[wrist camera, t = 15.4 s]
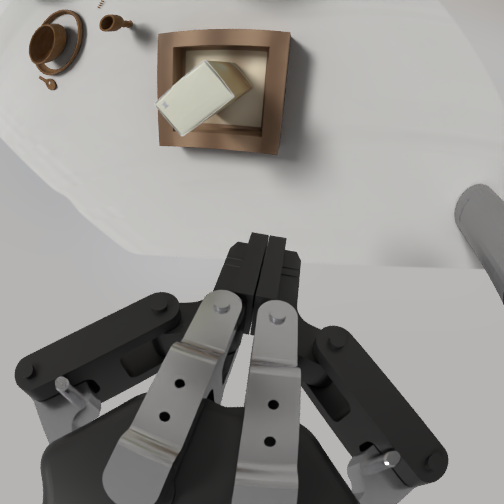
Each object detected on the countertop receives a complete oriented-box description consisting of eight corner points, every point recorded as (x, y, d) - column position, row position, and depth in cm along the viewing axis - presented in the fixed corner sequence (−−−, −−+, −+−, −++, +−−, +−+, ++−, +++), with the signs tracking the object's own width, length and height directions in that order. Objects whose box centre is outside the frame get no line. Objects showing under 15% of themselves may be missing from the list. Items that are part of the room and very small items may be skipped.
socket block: (290, 36, 25) (290, 32, 22) (279, 145, 35) (277, 155, 32) (172, 35, 26) (158, 33, 23) (171, 137, 36) (159, 145, 33)
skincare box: (215, 114, 32) (179, 141, 23) (195, 89, 30) (149, 106, 21) (257, 86, 29) (236, 97, 20) (235, 59, 27) (204, 58, 18)
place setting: (64, -11, 19) (39, -12, 15) (145, 16, 25) (121, 12, 20) (29, 74, 29) (6, 82, 25) (95, 114, 35) (72, 125, 30)
